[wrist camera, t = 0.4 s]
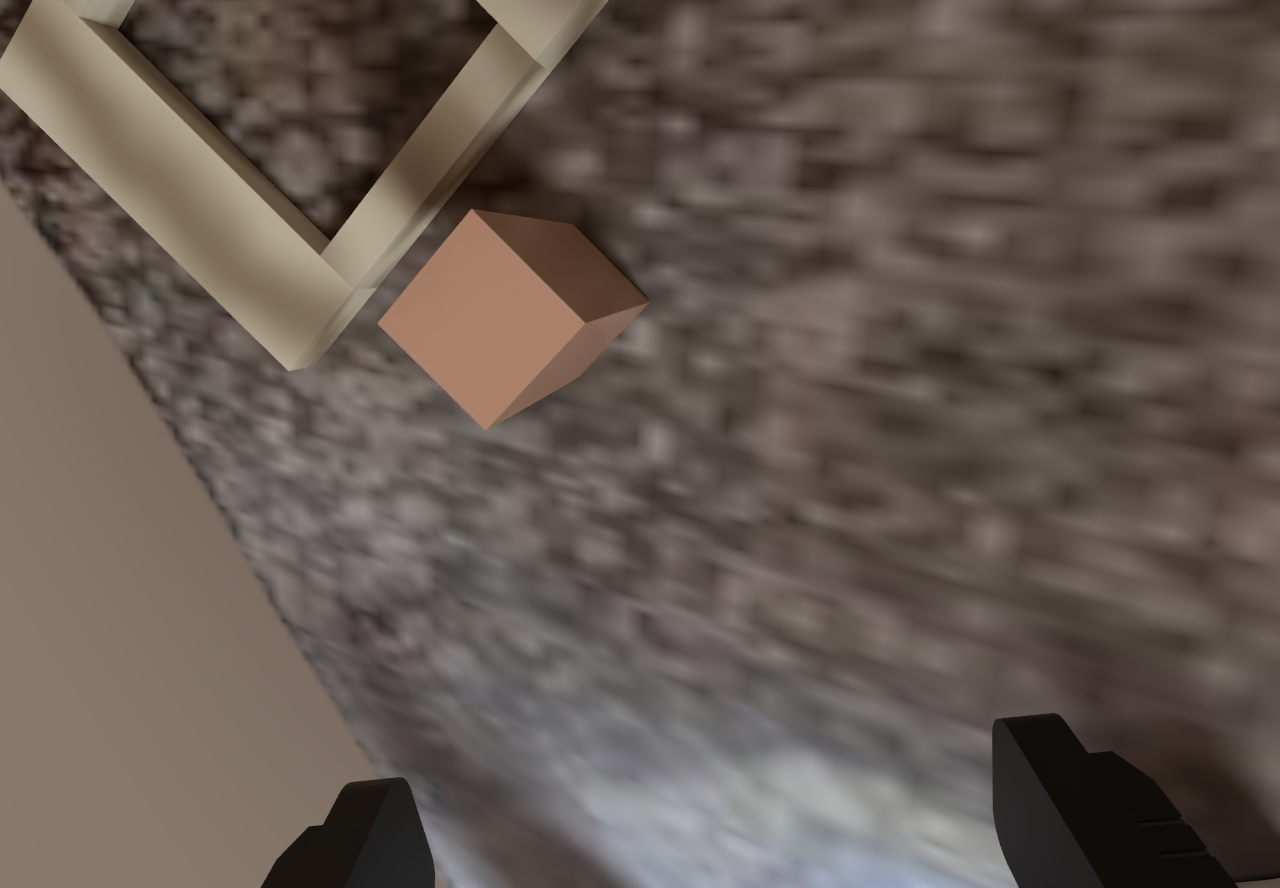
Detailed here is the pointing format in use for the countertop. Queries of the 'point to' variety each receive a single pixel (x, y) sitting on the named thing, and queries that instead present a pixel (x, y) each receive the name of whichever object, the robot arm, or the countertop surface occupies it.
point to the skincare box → (1260, 884)
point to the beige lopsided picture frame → (237, 191)
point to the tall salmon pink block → (511, 312)
